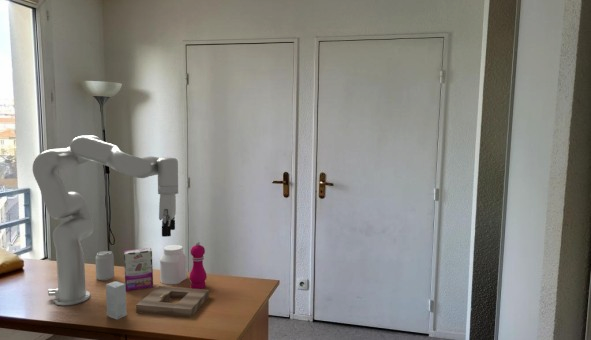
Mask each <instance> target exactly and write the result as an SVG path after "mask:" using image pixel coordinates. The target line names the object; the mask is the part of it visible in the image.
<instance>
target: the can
mask: <svg viewBox="0 0 591 340" xmlns="http://www.w3.org/2000/svg"><path fill="white" fill-rule="evenodd" d="M114 257H115V256H114V254H113V251H110V250H104V251H103V250H102V251H99V252H97V253H96V256H95V258H94V259H95V278H96V279H97V280H98V281H101V282H103V281H109V280H111V279H113V278H114V277H115V259H114Z"/></svg>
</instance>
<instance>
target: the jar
mask: <svg viewBox="0 0 591 340" xmlns="http://www.w3.org/2000/svg"><path fill="white" fill-rule="evenodd" d="M183 249H184V248H183V245H179V244H169V245H165V246H164V247H163V254H162V255H161V256H160V258H159V265H160V266H159V269H160V270H159V271H160V272H159V273H160V274H159V275H160V276H159V277H160V279H159V281H160V283H162V284H164V285H170V286H171V285H179V284H181V282H182V281H183V282H184V281H185V280H186V279H187V278H188V276H187V272H188V271H187V267H188V266H187V259H188V257H187V256H186V254H185V253H184V250H183Z"/></svg>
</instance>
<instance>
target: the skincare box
mask: <svg viewBox="0 0 591 340" xmlns="http://www.w3.org/2000/svg"><path fill="white" fill-rule="evenodd" d="M105 296H106V316H107V317H109V318H112V319H115V320H116V321H118V320H120V319H122V318H123V317H124V318H125V317H127V291H126V285H125V283H124V282H123V283H122V282H120V281H117V280H116V281H115V280H114V281H112V282H109V283H105Z"/></svg>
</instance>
